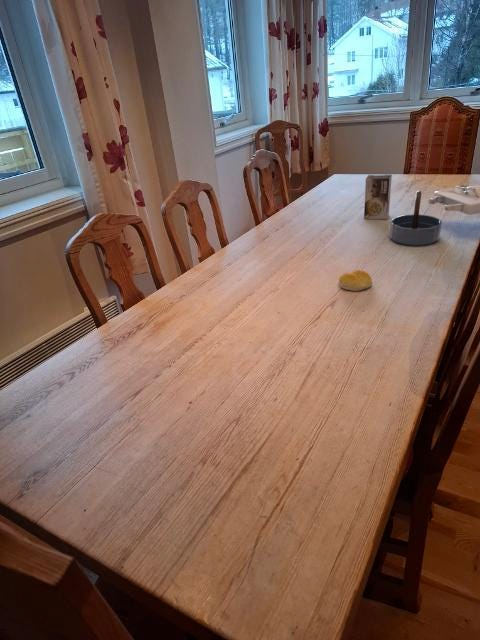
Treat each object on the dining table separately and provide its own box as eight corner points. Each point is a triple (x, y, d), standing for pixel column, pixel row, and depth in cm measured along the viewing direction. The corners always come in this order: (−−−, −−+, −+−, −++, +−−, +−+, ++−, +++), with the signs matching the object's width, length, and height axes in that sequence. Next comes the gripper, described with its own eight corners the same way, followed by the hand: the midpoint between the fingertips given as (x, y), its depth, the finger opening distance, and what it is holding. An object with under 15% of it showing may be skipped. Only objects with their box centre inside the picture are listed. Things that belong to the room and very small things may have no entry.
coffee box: (389, 215, 174) (392, 174, 166) (386, 219, 169) (390, 177, 161) (366, 214, 178) (368, 174, 170) (363, 218, 173) (365, 177, 165)
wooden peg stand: (422, 232, 152) (428, 188, 144) (423, 238, 147) (429, 193, 139) (404, 232, 154) (409, 188, 146) (404, 237, 149) (409, 193, 141)
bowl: (437, 231, 154) (440, 214, 151) (440, 247, 141) (443, 229, 138) (390, 230, 159) (391, 214, 156) (388, 245, 146) (390, 228, 143)
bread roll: (333, 283, 125) (334, 270, 123) (360, 277, 127) (361, 264, 125) (348, 294, 118) (349, 281, 116) (377, 287, 120) (378, 274, 118)
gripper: (493, 215, 141) (455, 222, 139) (454, 201, 159) (419, 206, 157) (497, 196, 138) (459, 202, 136) (456, 184, 156) (422, 189, 154)
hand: (437, 204), depth 147 cm, fingers open, 8 cm apart
